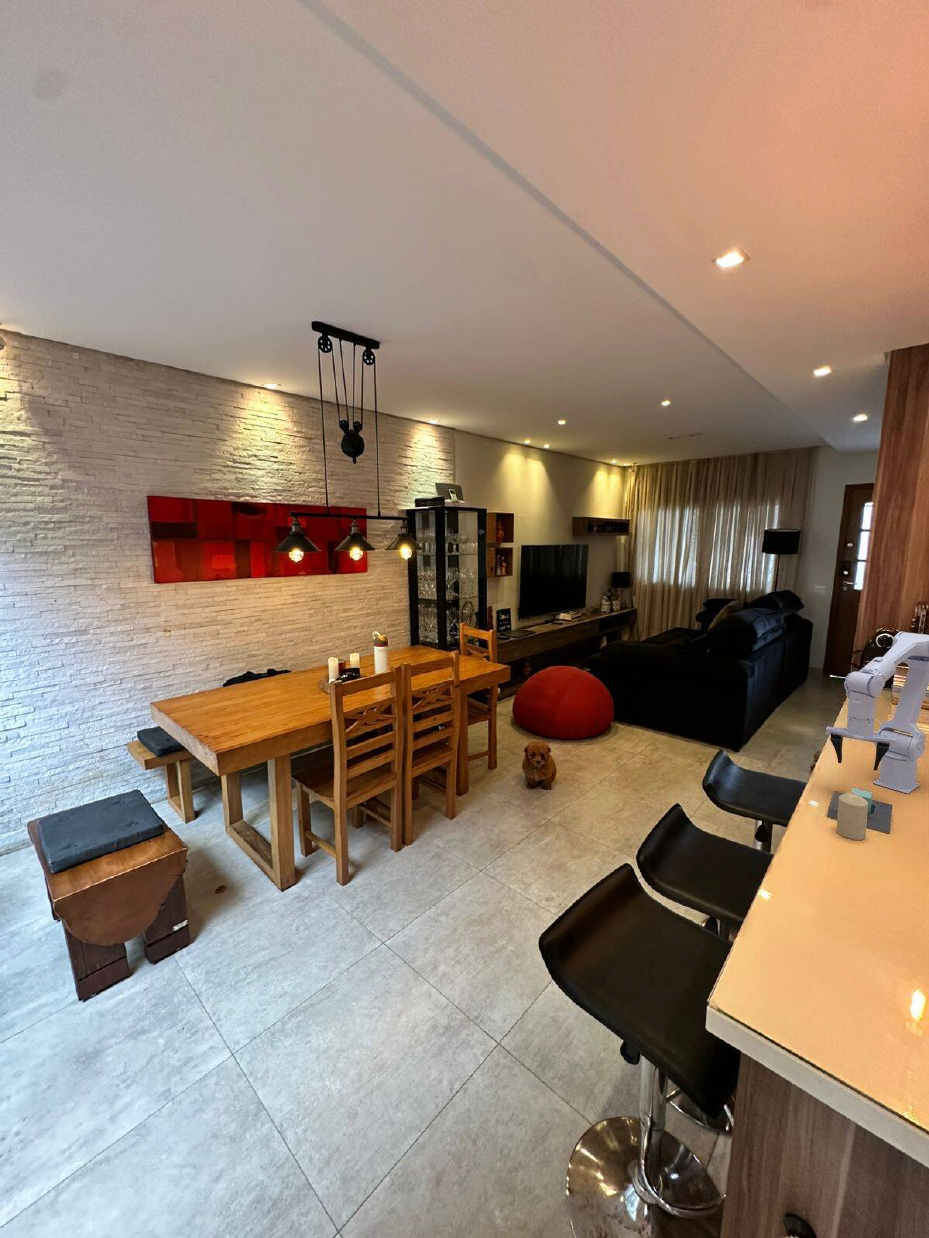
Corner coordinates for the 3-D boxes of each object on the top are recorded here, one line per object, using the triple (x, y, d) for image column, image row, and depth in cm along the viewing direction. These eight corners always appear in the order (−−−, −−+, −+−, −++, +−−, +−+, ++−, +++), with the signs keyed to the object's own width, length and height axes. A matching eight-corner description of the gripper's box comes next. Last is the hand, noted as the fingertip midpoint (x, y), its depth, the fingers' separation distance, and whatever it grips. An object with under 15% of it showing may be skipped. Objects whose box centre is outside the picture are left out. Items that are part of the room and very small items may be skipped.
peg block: (850, 809, 131) (852, 788, 130) (870, 814, 128) (872, 792, 127) (849, 815, 128) (850, 793, 127) (869, 821, 125) (870, 798, 124)
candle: (870, 841, 116) (873, 800, 115) (844, 839, 117) (846, 799, 116) (857, 828, 122) (860, 789, 120) (831, 826, 123) (834, 788, 122)
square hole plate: (833, 799, 136) (834, 790, 136) (891, 813, 128) (892, 804, 128) (827, 817, 127) (828, 807, 127) (889, 833, 119) (890, 823, 119)
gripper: (825, 715, 135) (822, 763, 137) (896, 726, 126) (891, 777, 127) (829, 709, 141) (826, 755, 142) (897, 719, 131) (893, 768, 133)
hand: (857, 765), depth 135 cm, fingers open, 7 cm apart
